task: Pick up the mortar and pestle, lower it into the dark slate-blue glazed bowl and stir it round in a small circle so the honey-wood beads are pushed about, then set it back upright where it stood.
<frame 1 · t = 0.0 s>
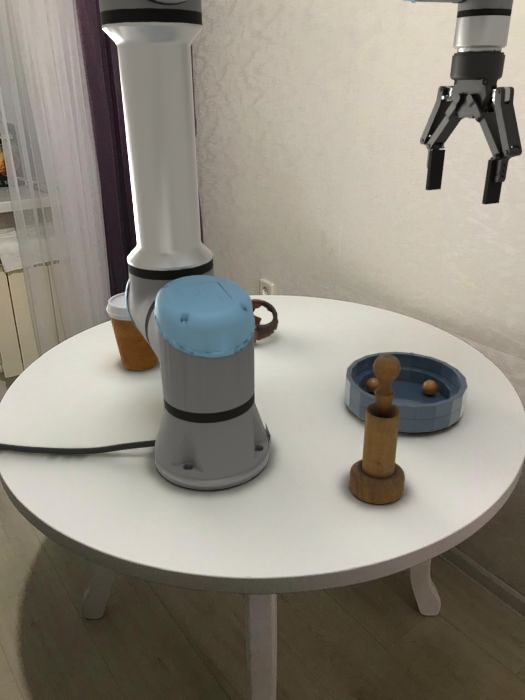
hand: (460, 196, 96), 28 cm above the table, tool pointing down, fingers open, 13 cm apart
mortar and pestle: (376, 489, 73), on the table
bead 1: (430, 387, 92), point 2 cm above the table, touching bowl
disposable coffee cup: (140, 363, 105), on the table
bowl: (402, 405, 91), on the table
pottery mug: (247, 336, 116), on the table
bead 2: (373, 385, 92), point 2 cm above the table, touching bowl
bead 3: (407, 411, 85), point 2 cm above the table, touching bowl
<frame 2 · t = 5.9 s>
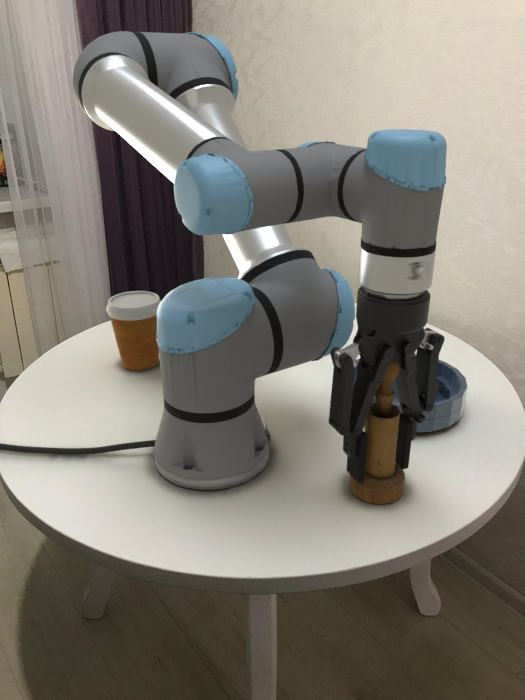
hand: (377, 469, 71), 3 cm above the table, tool pointing down, fingers closed on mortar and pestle, 6 cm apart
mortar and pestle: (376, 488, 73), on the table, touching gripper
everything else where it was.
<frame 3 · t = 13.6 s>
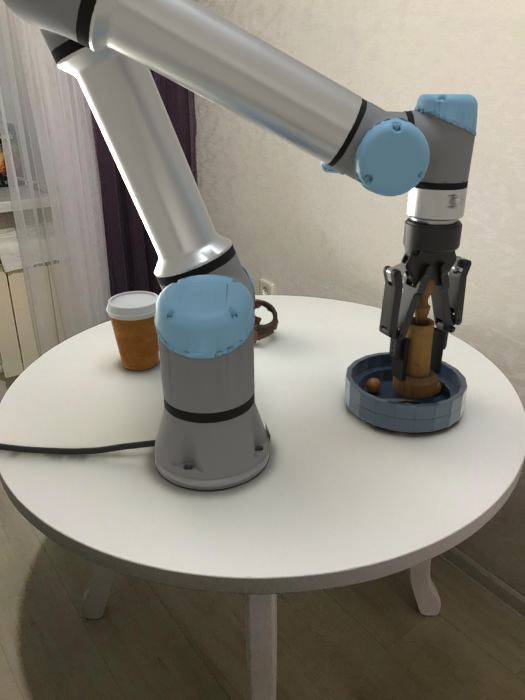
hand: (415, 372, 89), 5 cm above the table, tool pointing down, fingers closed on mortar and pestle, 6 cm apart
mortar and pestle: (414, 389, 90), point 3 cm above the table, touching bead 1, gripper
bead 1: (433, 387, 92), point 2 cm above the table, tilted 31°, touching bowl, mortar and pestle
everything else where it was.
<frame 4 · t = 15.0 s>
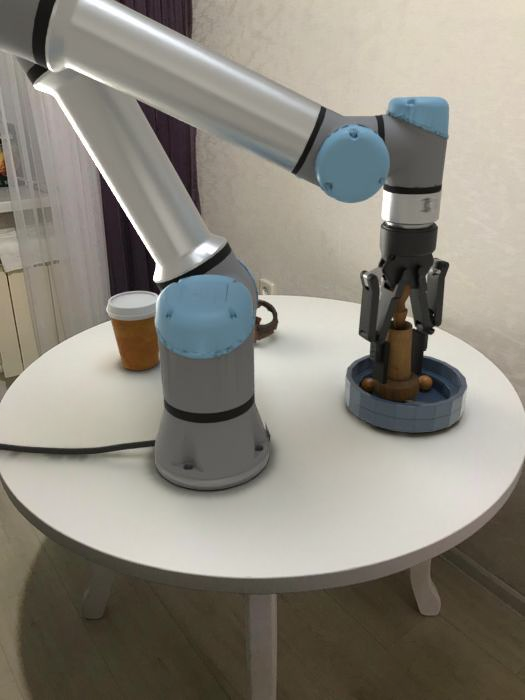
hand: (396, 375, 89), 5 cm above the table, tool pointing down, fingers closed on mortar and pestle, 6 cm apart
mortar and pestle: (396, 392, 90), point 2 cm above the table, touching gripper
bead 1: (424, 382, 93), point 2 cm above the table, tilted 74°, touching bowl
bead 2: (368, 385, 92), point 2 cm above the table, tilted 30°, touching bowl
everything else where it was.
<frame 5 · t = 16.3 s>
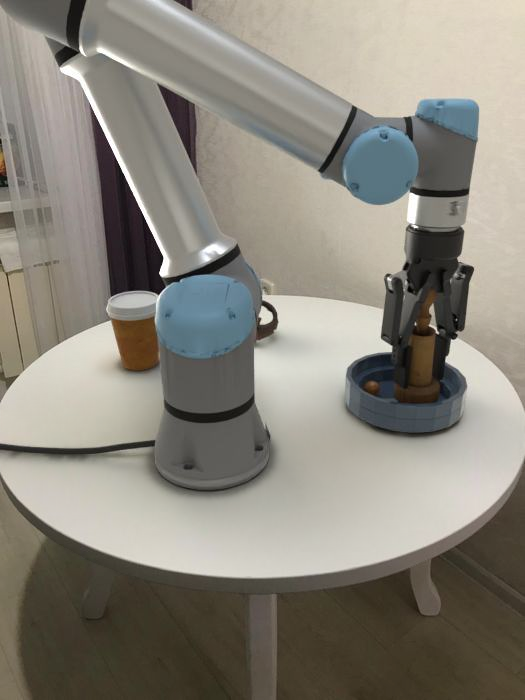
hand: (417, 379, 88), 5 cm above the table, tool pointing down, fingers closed on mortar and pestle, 6 cm apart
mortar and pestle: (416, 397, 89), point 2 cm above the table, touching gripper
bead 1: (422, 382, 93), point 2 cm above the table, tilted 88°, touching bowl
bead 2: (372, 388, 91), point 2 cm above the table, tilted 45°, touching bowl
bead 3: (416, 413, 85), point 2 cm above the table, tilted 35°, touching bowl
everything else where it was.
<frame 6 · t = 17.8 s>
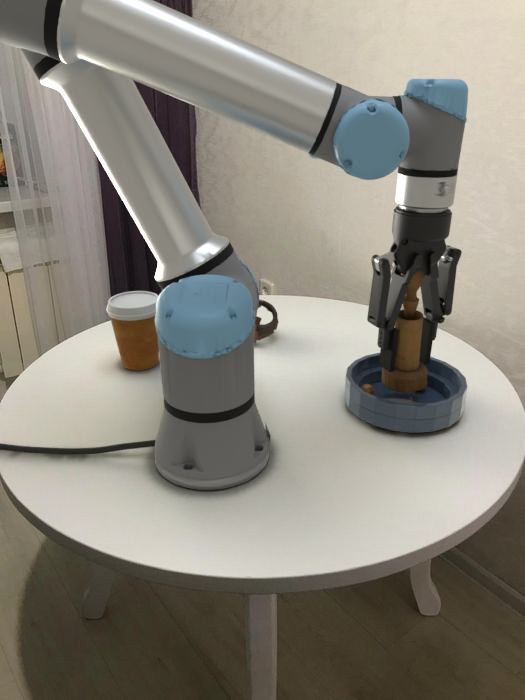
hand: (404, 363, 88), 7 cm above the table, tool pointing down, fingers closed on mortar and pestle, 6 cm apart
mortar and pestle: (403, 382, 89), point 4 cm above the table, touching gripper
bead 1: (419, 383, 93), point 2 cm above the table, tilted 75°, touching bowl
bead 2: (366, 391, 91), point 2 cm above the table, tilted 92°, touching bowl
everything else where it was.
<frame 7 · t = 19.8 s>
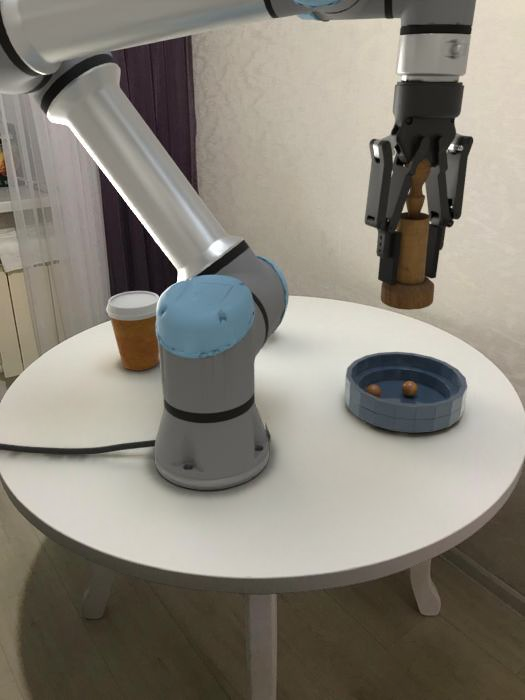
hand: (407, 278, 75), 23 cm above the table, tool pointing down, fingers closed on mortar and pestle, 6 cm apart
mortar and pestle: (406, 301, 77), point 19 cm above the table, touching gripper
bead 1: (409, 388, 91), point 2 cm above the table, tilted 79°, touching bowl
bead 2: (373, 392, 90), point 2 cm above the table, tilted 97°, touching bowl
everything else where it was.
when the fingers open (3 cm above the table, at t = 25.5 s): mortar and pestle stays where it is, on the table.
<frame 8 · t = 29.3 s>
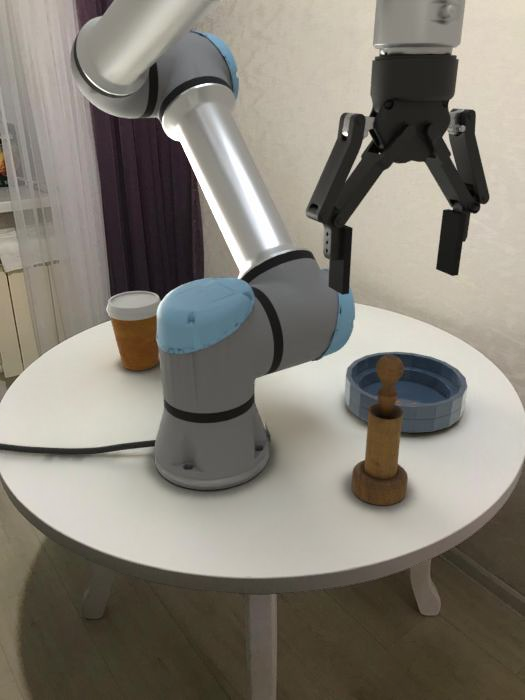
hand: (394, 281, 61), 27 cm above the table, tool pointing down, fingers open, 13 cm apart
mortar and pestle: (378, 490, 73), on the table
bead 1: (396, 408, 86), point 2 cm above the table, tilted 71°, touching bowl
bead 2: (375, 403, 87), point 2 cm above the table, tilted 92°, touching bowl
bead 3: (414, 411, 85), point 2 cm above the table, tilted 13°, touching bowl
everything else where it was.
at the end: bead 1 moved 9.0 cm from its start; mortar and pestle inside the target area (0.4 cm from its centre), on the table; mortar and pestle tilted 0° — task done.
